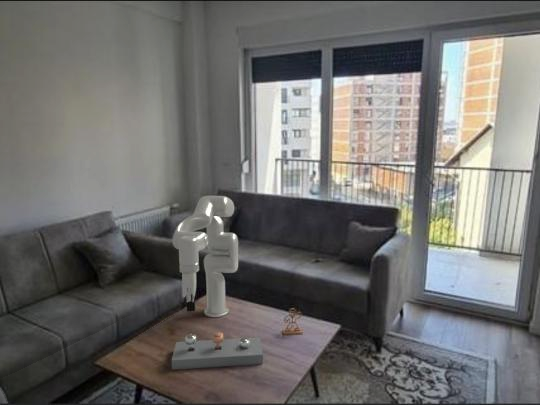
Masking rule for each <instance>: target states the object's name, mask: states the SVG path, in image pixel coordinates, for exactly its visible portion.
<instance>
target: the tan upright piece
mask: <svg viewBox="0 0 540 405" xmlns="http://www.w3.org/2000/svg"><path fill="white" fill-rule="evenodd" d="M297 316H298V317H297ZM288 317H290V318H291V319H290V318H288ZM301 317H302V312H301V311H297V310H296V309H295V307H293V308H289V310H288V315H286V316H285V317H284V318H283V322H284V323H285V324H287V323H288V324H287V326H286V328H283V329H282V334H283V336H291V335H296V336H297V335H303V329H302V328H300V327H299V326H298V324H297V320H298V319H300V318H301ZM294 318H295V319H294ZM290 324H292V325H291V326H290ZM293 324H295V325H296V327H295V326H294V325H293ZM292 327H293V328H292Z"/></svg>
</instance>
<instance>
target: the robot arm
mask: <svg viewBox="0 0 540 405" xmlns="http://www.w3.org/2000/svg"><path fill="white" fill-rule="evenodd" d="M196 204H197V205H196V207H195V209H194V212H193V214H191V215H190V216H188V217H186V218H185V219H184V220H183V219H182V221H181V222H180V223H178V225H176V226H177V227H176V228H175V231H174V233H173V235H172V245H173V247H174V248H175V249H176V250H178V257H179V258H178V260H179V272H180V273H181V274H182V275H181V277H182V278H181V288H182V289H181V291H182V294H181V295H182V298H183V299H184V298H186V311H187V312H189V313H191V312H195V311H196V300H195V296H196V292H197V273H198V272H199V271H200V263H199V261H200V260H199V259H200V258H199V257H200V256H199V255H200V254H199V252H200V251H203V250H204V249H206V248H207V249H208V250H209V251H212V253H209V254H207V255H205V256H204V258H203V265H204V266H203V267H204V272H205V280H206V281H205V283H206V307H205V309H204V312H203V313H204V315H205V316H207V317H210V318H220V317H224V316H226V315H228V314H229V312H230V311H229V308H228V307H227V305H226V281H225V279H226V278H225V277H224V275H223V274H222V273H226V274H228V273H231V274H232V273H236V272H237V271H238V268H239V238H238V235H237V234H236V233H234V232H225V231H224V221H223V219H222V217H223V218H226V217H227V218H229V217H232V216H233V215H234V212H235V204H234V201H233V200H232V199H231V198H229V197H227V196H225V195H204V196H202V197H200V198H199V200H198V202H197V203H196ZM205 228H206V232H203V231H199V230H203V229H205ZM213 252H227V253H213Z"/></svg>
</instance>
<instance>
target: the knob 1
mask: <svg viewBox="0 0 540 405" xmlns="http://www.w3.org/2000/svg"><path fill="white" fill-rule="evenodd" d="M184 340H185V341H184V342H185V343H186V344H187V345H189V350H193V344H195V343H196V341H197V335H196V334H195V333H188V334H187V335H185V336H184Z"/></svg>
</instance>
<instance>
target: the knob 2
mask: <svg viewBox="0 0 540 405" xmlns="http://www.w3.org/2000/svg"><path fill="white" fill-rule="evenodd" d="M240 338H241V339H240V340H239V347H240V348H243V349H246V348H249V347H250V339H248V338H249V337H240Z"/></svg>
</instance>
